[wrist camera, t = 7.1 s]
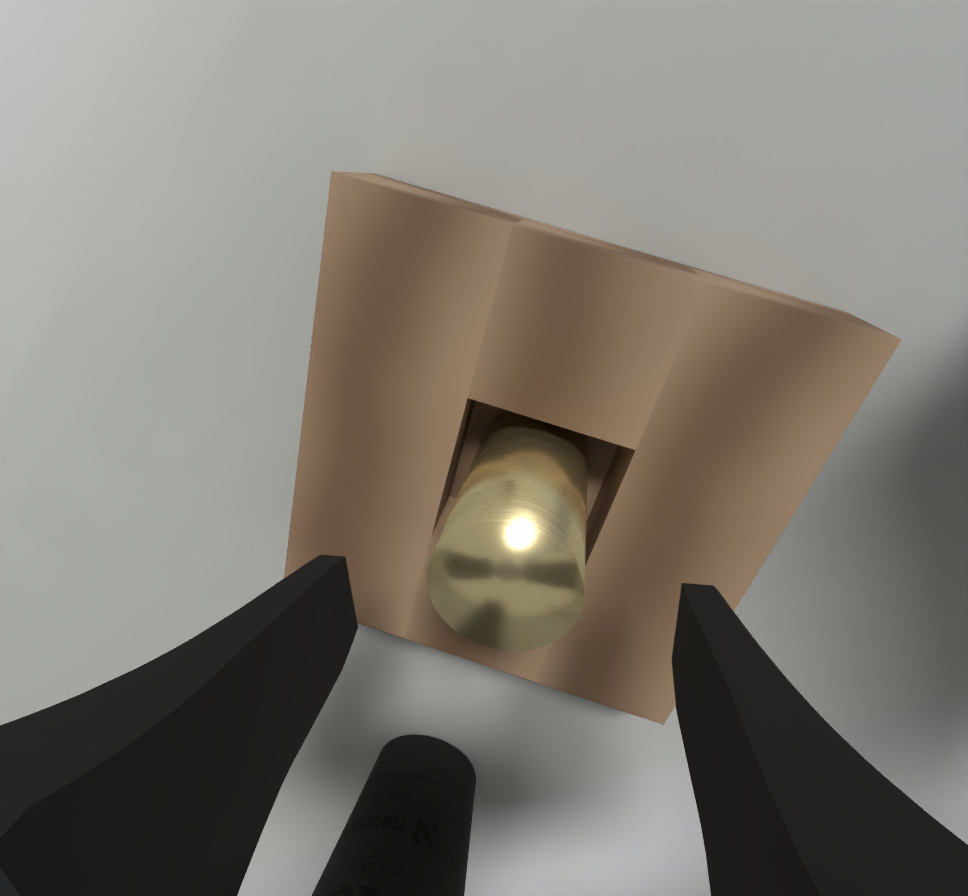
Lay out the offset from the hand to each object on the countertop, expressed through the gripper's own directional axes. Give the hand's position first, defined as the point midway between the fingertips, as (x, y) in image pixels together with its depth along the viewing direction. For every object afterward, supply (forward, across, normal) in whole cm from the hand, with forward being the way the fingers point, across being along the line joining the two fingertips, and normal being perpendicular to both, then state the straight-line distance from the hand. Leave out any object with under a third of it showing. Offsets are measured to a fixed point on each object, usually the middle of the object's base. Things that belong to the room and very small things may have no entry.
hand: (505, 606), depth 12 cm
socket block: (+8, 0, 0) cm, 8 cm away
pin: (+7, 0, 0) cm, 7 cm away
